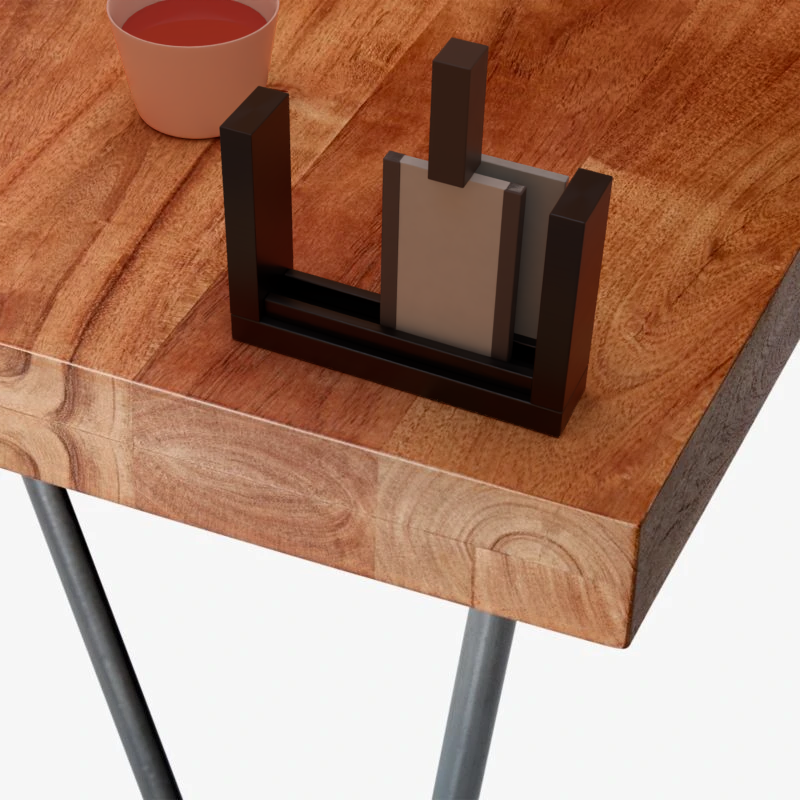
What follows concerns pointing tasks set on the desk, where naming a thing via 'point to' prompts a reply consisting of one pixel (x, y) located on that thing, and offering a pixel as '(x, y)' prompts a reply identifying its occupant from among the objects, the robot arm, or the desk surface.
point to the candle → (193, 58)
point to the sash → (452, 222)
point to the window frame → (360, 309)
